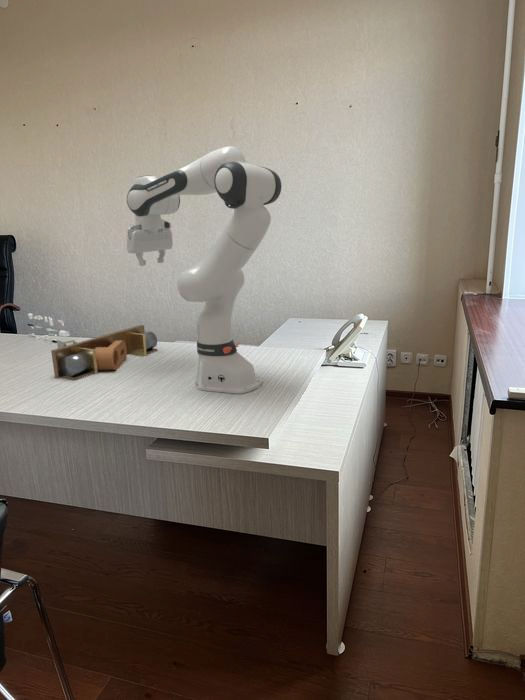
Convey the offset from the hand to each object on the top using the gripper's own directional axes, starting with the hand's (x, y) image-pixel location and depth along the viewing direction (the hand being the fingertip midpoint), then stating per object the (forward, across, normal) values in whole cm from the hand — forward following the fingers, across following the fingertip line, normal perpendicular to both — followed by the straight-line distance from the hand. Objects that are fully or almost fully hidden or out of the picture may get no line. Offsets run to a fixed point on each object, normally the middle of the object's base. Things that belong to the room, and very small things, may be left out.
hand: (151, 264), depth 190 cm
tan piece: (+33, -9, +11) cm, 36 cm away
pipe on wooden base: (+37, -8, +16) cm, 41 cm away
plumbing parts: (+38, +4, +69) cm, 78 cm away
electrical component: (+38, -6, +41) cm, 56 cm away
